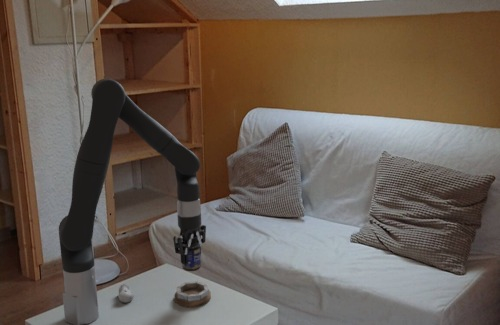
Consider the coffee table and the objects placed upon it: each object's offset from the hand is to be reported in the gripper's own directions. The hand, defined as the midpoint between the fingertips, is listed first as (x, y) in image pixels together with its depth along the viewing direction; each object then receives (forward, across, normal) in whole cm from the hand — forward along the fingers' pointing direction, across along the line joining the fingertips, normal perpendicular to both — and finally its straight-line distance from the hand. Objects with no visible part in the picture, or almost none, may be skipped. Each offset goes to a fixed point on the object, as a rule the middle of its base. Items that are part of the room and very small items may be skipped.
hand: (191, 260), depth 173 cm
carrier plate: (+14, 0, 0) cm, 14 cm away
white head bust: (+14, +12, -19) cm, 26 cm away
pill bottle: (+3, 0, 0) cm, 3 cm away
